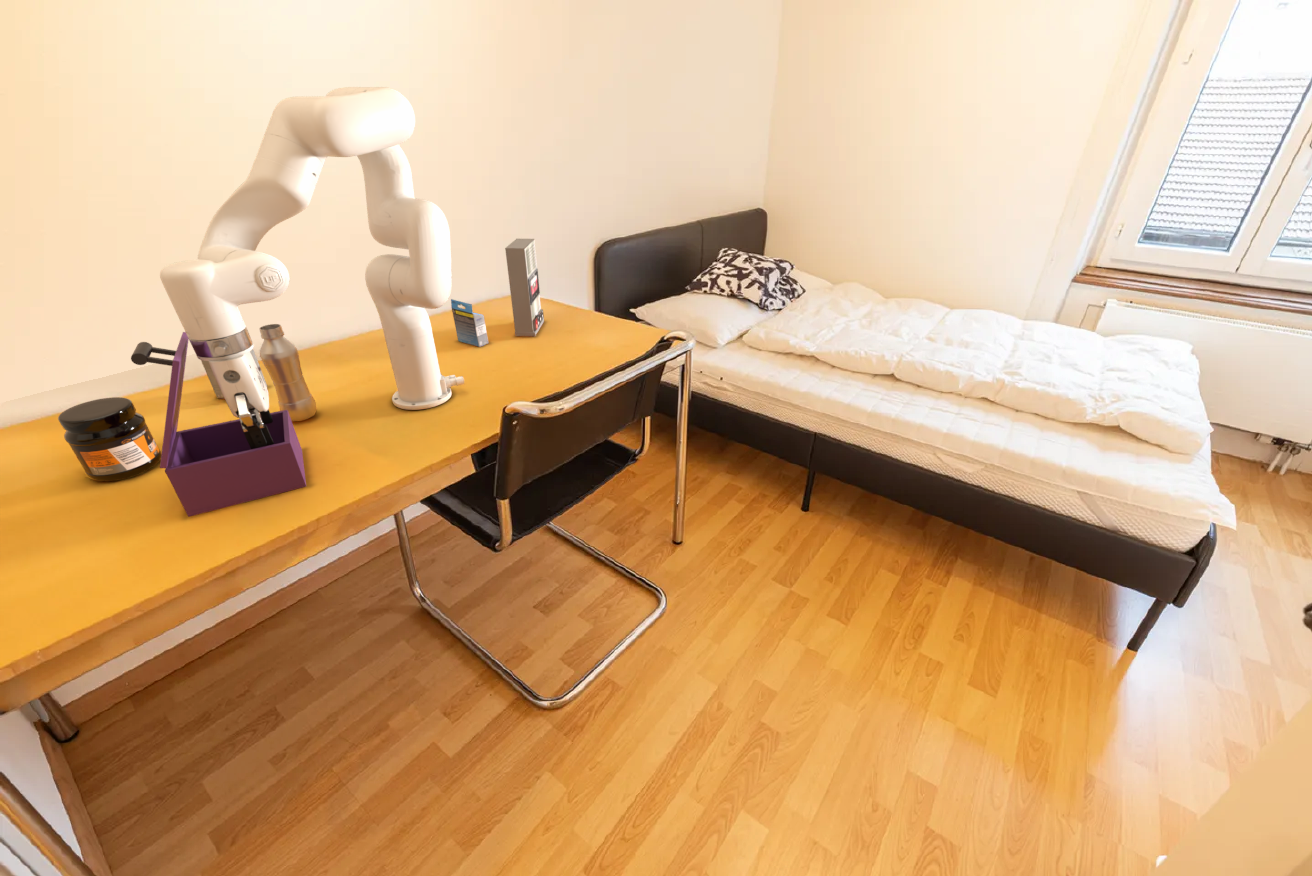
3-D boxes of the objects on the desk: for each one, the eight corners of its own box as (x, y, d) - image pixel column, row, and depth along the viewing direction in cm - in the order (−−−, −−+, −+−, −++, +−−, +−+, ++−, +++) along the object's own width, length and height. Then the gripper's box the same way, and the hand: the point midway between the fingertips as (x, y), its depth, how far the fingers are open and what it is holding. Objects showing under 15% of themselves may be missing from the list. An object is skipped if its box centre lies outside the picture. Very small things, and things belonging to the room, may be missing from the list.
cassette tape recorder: (536, 337, 163) (527, 248, 150) (515, 336, 163) (504, 248, 150) (545, 322, 175) (537, 238, 162) (525, 321, 175) (516, 238, 162)
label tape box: (489, 343, 158) (483, 300, 152) (478, 347, 155) (471, 304, 149) (467, 337, 162) (460, 295, 156) (456, 341, 159) (449, 298, 153)
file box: (302, 450, 107) (287, 409, 103) (306, 486, 97) (290, 442, 92) (195, 474, 100) (175, 431, 95) (188, 516, 89) (164, 470, 85)
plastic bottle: (326, 413, 120) (297, 323, 110) (300, 427, 115) (267, 334, 105) (303, 408, 122) (273, 319, 112) (276, 422, 117) (241, 330, 107)
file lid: (189, 332, 90) (142, 324, 87) (180, 361, 80) (126, 353, 77) (177, 429, 95) (132, 425, 92) (166, 468, 85) (116, 465, 81)
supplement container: (148, 479, 98) (116, 418, 92) (75, 488, 96) (37, 427, 90) (174, 449, 107) (146, 392, 101) (108, 457, 104) (75, 399, 98)
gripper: (250, 356, 83) (290, 453, 92) (250, 322, 96) (286, 410, 105) (188, 367, 80) (236, 466, 89) (197, 330, 92) (238, 420, 101)
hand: (263, 436), depth 97 cm, fingers open, 9 cm apart
